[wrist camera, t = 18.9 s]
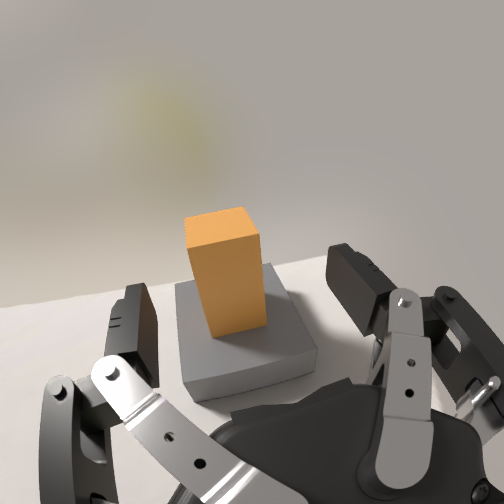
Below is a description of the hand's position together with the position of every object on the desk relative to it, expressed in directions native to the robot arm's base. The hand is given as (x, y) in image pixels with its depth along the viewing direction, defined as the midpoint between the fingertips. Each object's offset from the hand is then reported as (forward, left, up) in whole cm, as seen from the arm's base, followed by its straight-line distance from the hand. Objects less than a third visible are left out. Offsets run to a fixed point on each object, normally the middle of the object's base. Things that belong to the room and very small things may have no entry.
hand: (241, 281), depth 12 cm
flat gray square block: (+11, 0, -17) cm, 20 cm away
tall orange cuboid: (+11, 0, -13) cm, 17 cm away
